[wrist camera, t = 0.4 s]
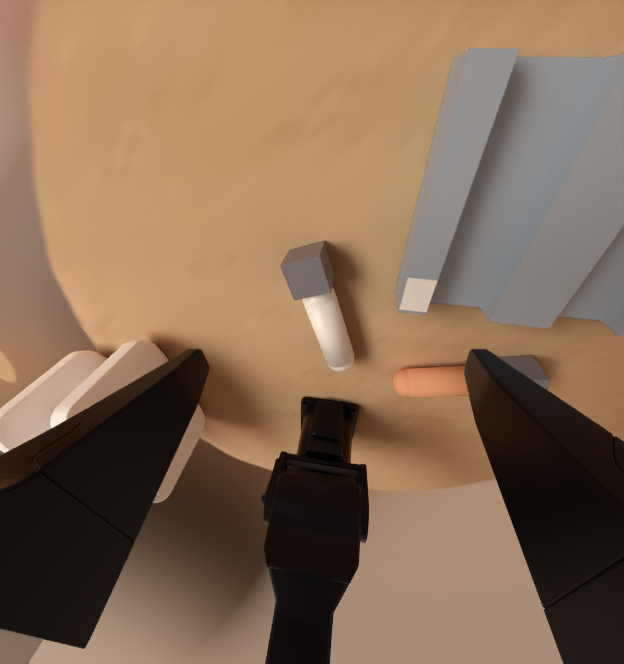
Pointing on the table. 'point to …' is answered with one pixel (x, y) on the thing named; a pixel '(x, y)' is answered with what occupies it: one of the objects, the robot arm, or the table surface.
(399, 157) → the table surface
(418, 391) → the orange-handled mallet
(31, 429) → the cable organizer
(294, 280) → the white-handled mallet
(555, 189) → the ribbed grooved tray
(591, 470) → the robot arm
